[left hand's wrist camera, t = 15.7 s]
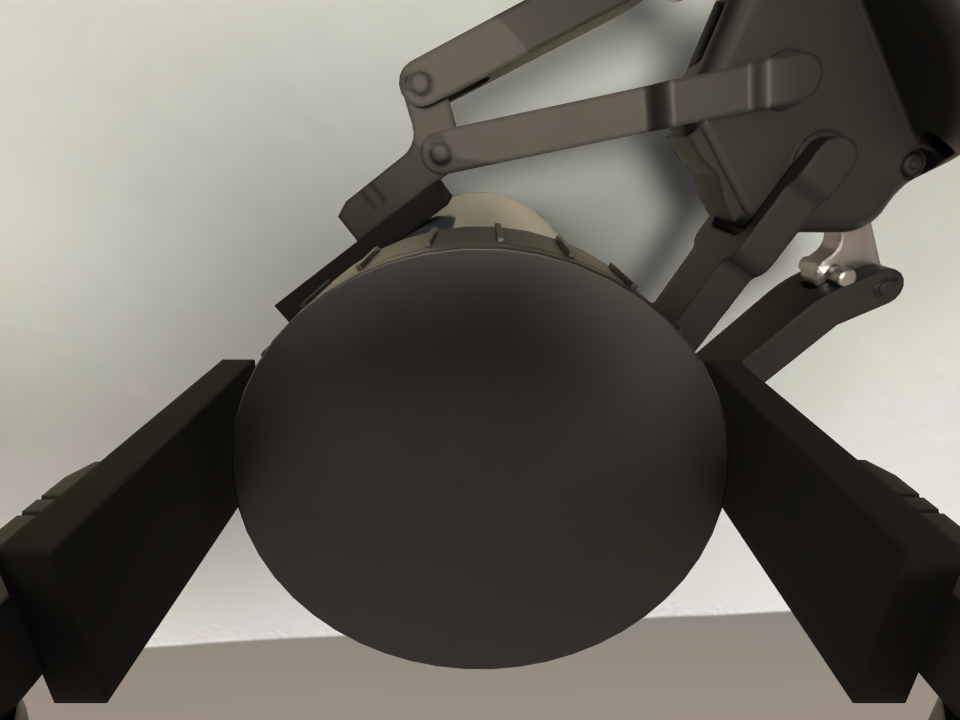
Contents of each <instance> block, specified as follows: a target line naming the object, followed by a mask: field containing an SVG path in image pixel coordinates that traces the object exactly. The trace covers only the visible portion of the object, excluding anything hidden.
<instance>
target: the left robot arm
mask: <svg viewBox="0 0 960 720" xmlns="http://www.w3.org/2000/svg"><path fill="white" fill-rule="evenodd" d="M255 367H256V366H255V360H222V361H221V362H219V363H218V364H217V365H216V366H215V367H213V368H212V369H211V370H210V371H209V372H207V373H206V374H205V375H204V376H203V377H201V378H200V379H199V380H198V381H197V382H195V383H194V384H193V385H192V386H191V387H189V388H188V389H187V390H186V391H185V392H183V393H182V394H181V395H180V396H179V397H177V398H176V399H175V400H174V401H173V402H171V403H170V404H169V405H168V406H167V407H165V408H164V409H163V410H162V411H161V412H159V413H158V414H157V415H156V416H155V417H153V418H152V419H151V420H150V421H149V422H147V423H146V424H145V425H144V426H143V427H141V428H140V429H139V430H138V431H137V432H135V433H134V434H133V435H132V436H131V437H129V438H128V439H127V440H126V441H125V442H123V443H122V444H121V445H120V446H119V447H117V448H116V449H115V450H114V451H113V452H111V453H110V454H109V455H108V456H107V457H106V458H104V459H103V460H102V461H101V462H94V463H92V464H90V465H88V466H86V467H84V468H82V469H80V470H78V471H77V472H75V473H73V474H71V475H69V476H67V477H65V478H64V479H62V480H61V481H60V482H59V483H57V484H56V485H55V486H54V487H52V488H51V489H50V490H49V491H47V492H46V493H45V494H44V495H42V498H41V500H36V501H35V502H34V503H32V504H31V505H30V506H29V507H27V508H26V509H25V510H24V511H22V515H21V516H16V517H15V518H14V519H12V520H11V521H10V522H9V523H7V524H6V525H5V526H4V527H2V528H1V529H0V720H29V719H28V713H27V708H26V706H25V704H24V702H23V699H22V698H23V697H24V696H25V694H26V693H27V692H28V691H29V690H30V688H31V687H32V686H33V685H34V684H35V682H36V681H37V680H38V679H39V678H40V676H41V675H42V674H43V677H44V679H45V681H46V684H47V686H48V689H49V691H50V693H51V696H52V698H53V700H54V703H107V702H108V701H109V699H110V698H111V696H112V695H113V693H114V692H115V690H116V689H117V687H118V686H119V684H120V683H121V681H122V680H123V678H124V677H125V675H126V674H127V672H128V671H129V669H130V668H131V666H132V665H133V663H134V662H135V660H136V659H137V657H138V656H139V654H140V653H141V651H142V650H143V648H144V647H145V645H146V644H147V642H148V641H149V639H150V638H151V636H152V635H153V633H154V632H155V630H156V629H157V627H158V626H159V624H160V623H161V622H162V620H163V619H164V617H165V616H166V614H167V613H168V611H169V610H170V608H171V607H172V605H173V604H174V602H175V601H176V599H177V598H178V596H179V595H180V593H181V592H182V590H183V589H184V587H185V586H186V584H187V583H188V581H189V580H190V578H191V577H192V575H193V574H194V572H195V571H196V569H197V568H198V566H199V565H200V563H201V562H202V560H203V559H204V557H205V556H206V554H207V553H208V551H209V550H210V548H211V547H212V545H213V544H214V542H215V541H216V539H217V538H218V536H219V535H220V533H221V532H222V530H223V529H224V527H225V526H226V524H227V523H228V521H229V520H230V518H231V517H232V515H233V514H234V512H235V511H236V509H237V508H238V504H237V499H236V494H235V489H234V484H233V476H232V442H233V434H234V426H235V420H236V416H237V413H238V409H239V406H240V402H241V399H242V395H243V393H244V390H245V388H246V386H247V384H248V382H249V380H250V378H251V375H252V373H253V371H254V369H255ZM705 368H706V370H707V372H708V374H709V377H710V379H711V381H712V383H713V385H714V388H715V390H716V392H717V394H718V397H719V401H720V404H721V408H722V412H723V416H724V419H725V423H726V430H727V440H728V450H729V461H728V479H727V486H726V491H725V496H724V500H723V505H722V508H723V509H724V511H725V512H726V514H727V515H728V517H729V518H730V520H731V521H732V523H733V524H734V526H735V527H736V529H737V530H738V532H739V533H740V535H741V536H742V538H743V539H744V541H745V542H746V544H747V545H748V547H749V548H750V550H751V551H752V553H753V554H754V556H755V557H756V559H757V560H758V562H759V563H760V565H761V566H762V568H763V569H764V571H765V572H766V574H767V575H768V577H769V578H770V580H771V581H772V583H773V584H774V586H775V587H776V589H777V590H778V592H779V593H780V595H781V596H782V598H783V599H784V601H785V602H786V604H787V605H788V607H789V608H790V610H791V611H792V613H793V614H794V616H795V617H796V619H797V620H798V621H799V623H800V624H801V626H802V627H803V629H804V630H805V632H806V633H807V635H808V636H809V638H810V639H811V641H812V642H813V644H814V645H815V647H816V648H817V650H818V651H819V653H820V654H821V656H822V657H823V659H824V660H825V662H826V663H827V665H828V666H829V668H830V669H831V671H832V672H833V674H834V675H835V677H836V678H837V680H838V681H839V683H840V684H841V686H842V687H843V689H844V690H845V692H846V693H847V695H848V696H849V698H850V699H851V701H852V702H853V703H906V700H907V698H908V696H909V693H910V691H911V689H912V686H913V684H914V681H915V679H916V677H917V674H918V672H919V673H920V674H921V676H922V677H923V678H924V679H925V680H926V682H927V683H928V684H929V685H930V686H931V688H932V689H933V690H934V691H935V692H936V694H937V695H938V696H939V697H938V700H937V702H936V704H935V706H934V708H933V710H932V713H931V715H930V717H929V719H928V720H960V526H959V525H957V524H956V523H955V522H954V521H952V520H951V519H950V518H949V517H947V516H946V515H945V514H940V513H939V509H937V508H936V507H935V506H934V505H932V504H931V503H930V502H929V501H927V500H926V499H925V498H920V497H919V494H918V493H917V492H916V491H915V490H913V489H912V488H911V487H910V486H908V485H907V484H906V483H905V482H903V481H902V480H901V479H900V478H898V477H897V476H896V475H894V474H892V473H890V472H888V471H886V470H884V469H882V468H880V467H878V466H876V465H874V464H872V463H870V462H868V461H866V460H857V459H856V458H854V457H853V456H852V455H851V454H850V453H849V452H847V451H846V450H845V449H844V448H843V447H841V446H840V445H839V444H838V443H837V442H835V441H834V440H833V439H832V438H831V437H829V436H828V435H827V434H826V433H825V432H823V431H822V430H821V429H820V428H819V427H817V426H816V425H815V424H814V423H813V422H811V421H810V420H809V419H808V418H807V417H805V416H804V415H803V414H802V413H801V412H799V411H798V410H797V409H796V408H795V407H793V406H792V405H791V404H790V403H789V402H787V401H786V400H785V399H784V398H783V397H781V396H780V395H779V394H778V393H777V392H775V391H774V390H773V389H772V388H771V387H769V386H768V385H767V384H766V383H765V382H763V381H762V380H761V379H760V378H759V377H757V376H756V375H755V374H754V373H753V372H751V371H750V370H749V369H748V368H747V367H745V366H744V365H743V364H742V363H741V362H739V361H738V360H705Z"/></svg>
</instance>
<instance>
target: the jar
mask: <svg viewBox="0 0 960 720" xmlns="http://www.w3.org/2000/svg"><path fill="white" fill-rule="evenodd" d="M495 223H500V224H501V227H503V228H510V229H517V230H524V231H530V232H533V233H537V234H540V235H544V236H547V237H551V238H554V239H555V238H556V236H558V234H557V233H556V232H555V231H554V230H553V229H552V228H551V226H550V225H549V224H548V223H547V222H546V221H545V220H544V219H543V218H542V217H541V216H540V215H539V214H538V213H536V212H535V211H534V210H533V209H531V208H530V207H528V206H526V205H525V204H523V203H521V202H519V201H517V200H515V199H512V198H510V197H507V196H503V195H499V194H493V193H467V194H461V195H457V196H454V197H452V198H451V200H450V202H449V204H448V205H447V206H446V207H444V208H443V209H442V210H440V211H439V212H438V213H436V214H435V215H434V216H432V217H431V218H430V219H428V220H427V221H426V222H424V223H423V224H422V225H420V226H419V227H418V228H416V229H415V230H414V231H412V232H411V233H410V234H408V235H407V236H406V237H404V238H403V239H406V238H409V237H413V236H416V235H420V234H424V233H428V232H430V230H431V228H432V227H437V228H438V230H442V229H450V228H458V227H466V226H472V227H495ZM403 239H402V240H403Z"/></svg>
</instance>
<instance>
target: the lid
mask: <svg viewBox="0 0 960 720" xmlns="http://www.w3.org/2000/svg"><path fill="white" fill-rule="evenodd" d="M637 287H638V286H637V285H636V284H635V283H634V282H633V281H631V280H630V279H629V278H628V277H627V276H626V275H625V274H624V273H623V272H621V271H620V270H619V269H618V268H617V267H616V266H615V265H613V264H612V263H610V265H609V266H608V265H606V264H604V263H603V262H601V261H599V260H598V259H596V258H595V257H593V256H591V255H590V254H588V253H586V252H585V251H583V250H580V249H578V248H576V247H574V246H571V245H569V244H567V243H566V242H565V240H564V239H563V238H562V237H560V236H556V238H555V239H554V238H551V237H547V236H544V235H540V234H537V233H533V232H530V231H524V230H517V229H510V228H503V227H501V224H500V223H495V227H472V226H466V227H458V228H450V229H442V230H438V228H437V227H432V228H431V230H430V232H428V233H424V234H420V235H416V236H413V237H409V238H406V239H403V240H401V241H399V242H396V243H394V244H391V245H389V246H387V247H384V248H382V249H380V248H379V246H377V247H375V248H373V249H372V250H371V251H370V252H369V253H368V254H367V255H366V256H365V257H364V258H363V259H362V260H361V261H359V262H357V263H356V264H354V265H353V266H351V267H350V268H349V269H348V270H346V271H345V272H344V273H343V274H341V275H340V276H339V277H338V278H336V279H335V280H334V281H333V282H332V281H331V280H330V279H329V280H327V281H326V282H325V283H324V284H323V285H322V286H321V287H320V288H318V289H317V290H316V291H315V292H314V293H313V294H312V295H311V296H309V297H308V298H307V299H306V300H305V301H304V302H303V303H302V304H301V305H300V307H301V308H302V310H301V311H300V312H299V313H298V314H297V315H296V316H295V317H294V318H293V319H292V320H291V321H290V322H289V324H288V325H287V326H286V327H285V328H284V329H283V330H282V331H281V332H280V333H279V334H278V335H277V336H276V338H275V339H274V340H273V341H272V343H271V344H270V345H269V346H268V347H267V348H266V349H265V350H264V351H263V353H262V354H261V356H262V358H261V359H260V361H259V362H258V364H257V365H256V367H255V369H254V371H253V373H252V375H251V378H250V380H249V382H248V384H247V386H246V388H245V390H244V393H243V395H242V399H241V402H240V406H239V409H238V413H237V416H236V420H235V426H234V434H233V442H232V476H233V484H234V489H235V494H236V499H237V504H238V508H239V511H240V513H241V516H242V519H243V522H244V525H245V528H246V530H247V533H248V535H249V537H250V538H251V540H252V542H253V544H254V546H255V548H256V550H257V552H258V554H259V556H260V557H261V558H262V560H263V561H264V563H265V564H266V566H267V567H268V568H269V570H270V571H271V573H272V574H273V576H274V577H275V578H276V579H277V580H278V581H279V582H280V584H281V585H282V586H283V587H284V588H285V589H286V590H287V591H288V592H289V593H290V595H291V596H292V597H293V598H294V599H296V600H297V601H298V602H299V603H300V604H301V605H303V606H304V607H305V608H306V609H307V610H308V611H309V612H311V613H312V614H313V615H314V616H316V617H317V618H319V619H320V620H322V621H323V622H325V623H326V624H328V625H329V626H330V627H332V628H333V629H335V630H337V631H338V632H340V633H342V634H344V635H346V636H348V637H350V638H351V639H353V640H355V641H357V642H359V643H361V644H364V645H366V646H369V647H371V648H373V649H376V650H378V651H381V652H383V653H386V654H389V655H393V656H396V657H399V658H403V659H406V660H409V661H414V662H419V663H424V664H429V665H434V666H441V667H451V668H461V669H498V668H510V667H520V666H526V665H531V664H536V663H542V662H547V661H550V660H554V659H557V658H561V657H564V656H568V655H571V654H574V653H577V652H579V651H582V650H584V649H587V648H589V647H592V646H594V645H597V644H599V643H601V642H603V641H605V640H607V639H609V638H611V637H612V636H614V635H616V634H618V633H620V632H622V631H624V630H625V629H627V628H628V627H630V626H631V625H633V624H634V623H636V622H637V621H639V620H640V619H642V618H643V617H645V616H646V615H647V614H648V613H649V612H651V611H652V610H653V609H654V608H655V607H657V606H658V605H659V604H660V603H661V602H663V601H664V600H665V599H666V598H667V597H668V596H669V595H670V594H671V593H672V592H673V590H674V589H675V588H676V587H677V586H678V585H679V584H680V583H681V582H682V581H683V580H684V578H685V577H686V576H687V574H688V573H689V572H690V570H691V569H692V567H693V566H694V565H695V563H696V562H697V561H698V559H699V558H700V556H701V554H702V552H703V550H704V549H705V547H706V545H707V543H708V541H709V539H710V537H711V536H712V534H713V531H714V528H715V525H716V523H717V520H718V517H719V515H720V512H721V509H722V505H723V500H724V496H725V491H726V486H727V479H728V461H729V450H728V440H727V430H726V423H725V419H724V416H723V412H722V408H721V404H720V401H719V397H718V394H717V392H716V390H715V388H714V385H713V383H712V381H711V379H710V377H709V374H708V372H707V370H706V368H705V366H704V365H703V363H702V362H701V360H700V359H699V357H698V356H697V354H696V353H695V351H694V349H693V348H692V346H691V345H690V343H689V342H688V341H687V340H686V339H685V337H684V336H683V335H682V334H683V333H684V331H683V330H682V328H681V327H679V326H678V325H677V324H676V323H675V322H674V321H673V320H672V319H671V318H670V317H668V316H667V315H666V314H665V313H664V312H663V311H662V310H661V309H660V308H659V307H657V306H656V305H655V304H654V303H653V302H652V303H650V302H649V301H648V300H647V299H646V298H645V297H644V296H643V295H642V294H641V293H640V292H639V291H637V290H636V288H637Z"/></svg>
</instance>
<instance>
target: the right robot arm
mask: <svg viewBox="0 0 960 720" xmlns="http://www.w3.org/2000/svg"><path fill="white" fill-rule="evenodd" d="M641 1H642V0H524V1H522V2H520V3H519V4H517V5H515V6H513V7H511V8H509V9H507V10H506V11H504V12H502V13H500V14H498V15H496V16H494V17H493V18H491V19H489V20H487V21H485V22H483V23H481V24H480V25H478V26H476V27H474V28H472V29H470V30H468V31H466V32H465V33H463V34H461V35H459V36H457V37H455V38H453V39H452V40H450V41H448V42H446V43H444V44H442V45H440V46H439V47H437V48H435V49H433V50H431V51H429V52H427V53H426V54H424V55H422V56H420V57H418V58H416V59H414V60H412V61H411V62H409V63H408V64H407V65H406V66H405V67H404V68H403V70H402V72H401V74H400V81H399V86H400V89H401V93H402V95H403V96H404V98H405V101H406V105H407V108H408V111H409V115H410V118H411V121H412V125H413V130H414V138H413V142H412V145H411V147H410V149H409V151H408V152H407V153H406V154H405V155H404V156H403V157H402V158H400V159H399V160H398V161H397V162H395V163H394V164H393V165H391V166H390V167H389V168H388V169H386V170H385V171H384V172H383V173H381V174H380V175H379V176H378V177H376V178H375V179H374V180H373V181H371V182H370V183H369V184H368V185H366V186H365V187H364V188H363V189H361V190H360V191H359V192H358V193H356V194H355V195H354V196H353V197H351V198H350V199H349V200H348V201H346V203H345V205H344V207H343V208H342V210H341V212H340V214H339V216H338V217H339V218H340V219H341V221H342V222H343V223H344V224H345V226H346V227H347V228H348V230H349V231H350V232H351V233H352V235H353V236H354V237H355V238H356V240H357V242H356V243H355V244H354V245H352V246H351V247H350V248H348V249H347V250H346V251H344V252H343V253H342V254H341V255H339V256H338V257H337V258H335V259H334V260H333V261H331V262H330V263H329V264H328V265H326V266H325V267H324V268H322V269H321V270H320V271H319V272H317V273H316V274H315V275H313V276H312V277H311V278H309V279H308V280H307V281H306V282H304V283H303V284H302V285H300V286H299V287H298V288H297V289H295V290H294V291H293V292H291V293H290V294H289V295H288V296H286V297H285V298H284V299H282V300H281V301H280V302H279V303H277V304H276V305H275V307H276V308H277V309H278V310H279V311H280V312H281V314H282V315H283V316H284V317H285V318H286V319H287V320H288V321H289V322H290V321H291V320H292V319H293V318H294V317H295V316H296V315H297V314H298V313H299V312H300V311H301V310H302V308H301V307H300V305H301V304H302V303H303V302H304V301H305V300H306V299H307V298H308V297H309V296H311V295H312V294H313V293H314V292H315V291H316V290H317V289H318V288H320V287H321V286H322V285H323V284H324V283H325V282H326V281H327V280H329V279H330V280H331V281H332V282H333V281H334V280H335V279H336V278H338V277H339V276H340V275H341V274H343V273H344V272H345V271H346V270H348V269H349V268H350V267H351V266H353V265H354V264H356V263H357V262H359V261H361V260H362V259H363V258H364V257H365V256H366V255H367V254H368V253H369V252H370V251H371V250H372V249H373V248H375V247H377V246H379V248H380V249H382V248H384V247H387V246H389V245H391V244H394V243H396V242H399V241H401V240H402V239H403V238H404V237H406V236H407V235H408V234H410V233H411V232H412V231H414V230H415V229H416V228H418V227H419V226H420V225H422V224H423V223H424V222H426V221H427V220H428V219H430V218H431V217H432V216H434V215H435V214H436V213H438V212H439V211H440V210H442V209H443V208H444V207H446V206H447V205H448V204H449V202H450V200H451V198H452V197H453V196H452V195H451V194H450V192H449V191H448V189H447V188H446V187H445V185H444V184H443V182H442V181H441V179H442V178H443V177H444V176H446V175H447V174H448V173H453V172H458V171H462V170H467V169H472V168H477V167H482V166H486V165H491V164H496V163H501V162H505V161H510V160H515V159H520V158H525V157H529V156H534V155H539V154H544V153H549V152H553V151H558V150H563V149H568V148H573V147H577V146H582V145H587V144H592V143H597V142H601V141H606V140H611V139H616V138H620V137H625V136H630V135H635V134H640V133H644V132H649V131H655V130H661V129H666V128H670V130H671V134H669V135H668V136H666V137H667V138H668V140H669V142H670V144H671V146H672V148H673V149H674V151H675V153H676V155H677V157H678V158H679V159H680V160H681V161H682V162H683V163H684V164H686V165H687V166H688V167H689V168H690V169H691V170H692V171H693V173H694V176H695V180H696V185H697V190H698V194H699V197H700V199H701V201H702V203H703V205H704V206H705V208H706V210H707V212H708V214H709V215H710V216H709V217H708V219H707V220H706V221H705V223H704V224H703V226H702V227H701V229H700V230H699V231H698V233H697V235H696V237H695V240H694V247H693V249H692V251H691V252H690V253H689V255H688V256H687V258H686V259H685V260H684V262H683V263H682V265H681V266H680V267H679V269H678V270H677V272H676V273H675V274H674V276H673V277H672V279H671V280H670V281H669V283H668V284H667V286H666V287H665V288H664V290H663V291H662V293H661V294H660V295H659V297H658V298H657V300H656V301H655V302H654V304H655V305H656V306H657V307H659V308H660V309H661V310H662V311H663V312H664V313H665V314H666V315H667V316H668V317H670V318H671V319H672V320H673V321H674V322H675V323H676V324H677V325H678V326H679V327H681V328H682V330H683V331H684V333H683V334H682V335H683V336H684V337H685V339H686V340H687V341H688V342H689V343H690V345H691V346H692V348H693V349H694V351H696V350H697V349H698V347H699V346H700V345H701V343H702V342H703V341H704V339H705V338H706V337H707V336H708V334H709V333H710V332H711V330H712V329H713V328H714V326H715V325H716V324H717V323H718V321H719V320H720V319H721V317H722V316H723V315H724V314H725V312H726V311H727V310H728V308H729V307H730V306H731V304H732V303H733V302H734V301H735V299H736V298H737V297H738V295H739V294H740V293H741V291H742V290H743V289H744V288H745V286H746V285H747V284H748V283H749V281H750V280H752V279H753V278H755V277H758V276H760V275H762V274H764V273H765V272H766V271H767V270H768V269H769V268H770V267H771V266H772V265H773V263H774V262H775V261H776V260H777V258H778V257H779V256H780V254H781V253H782V252H783V251H784V249H785V248H786V247H787V246H788V244H789V243H790V242H791V240H792V239H793V238H794V237H795V235H796V234H797V233H798V232H824V238H823V241H822V243H821V245H820V247H819V248H818V249H817V250H816V251H815V252H814V253H812V254H811V255H810V256H805V257H803V258H802V259H801V260H800V262H799V269H800V270H801V272H799V273H797V274H795V275H793V276H791V277H789V278H788V279H786V280H784V281H783V282H781V283H780V284H778V285H777V286H776V287H774V288H773V289H772V290H770V291H769V292H768V293H767V294H765V295H764V296H763V297H762V298H761V299H760V300H758V301H757V302H756V303H755V304H754V305H753V306H751V307H750V308H749V309H748V310H747V311H745V312H744V313H743V314H742V315H741V316H740V317H738V318H737V319H736V320H735V321H734V322H733V323H731V324H730V325H729V326H728V327H727V328H725V329H724V330H723V331H722V332H721V333H720V334H718V335H717V336H716V337H715V338H714V339H712V340H711V341H710V342H709V343H708V344H707V345H705V346H704V347H703V348H702V349H701V350H700V351H698V352H697V353H696V354H697V356H698V357H699V359H700V360H701V362H702V363H703V365H704V366H705V360H738V361H739V362H741V363H742V364H743V365H744V366H745V367H747V368H748V369H749V370H750V371H751V372H753V373H754V374H755V375H756V376H757V377H759V378H760V379H761V380H762V381H763V382H766V381H767V380H768V379H770V378H771V377H772V376H773V375H775V374H776V373H777V372H778V371H780V370H781V369H782V368H783V367H785V366H786V365H787V364H788V363H790V362H791V361H792V360H793V359H795V358H796V357H797V356H798V355H800V354H801V353H802V352H803V351H805V350H806V349H807V348H808V347H810V346H811V345H812V344H813V343H815V342H816V341H817V340H818V339H820V338H821V337H822V336H823V335H825V334H826V333H827V332H829V331H830V330H831V329H832V328H834V327H835V326H836V325H838V324H840V323H842V322H845V321H847V320H849V319H852V318H854V317H856V316H859V315H861V314H864V313H866V312H868V311H871V310H873V309H875V308H878V307H880V306H882V305H885V304H887V303H889V302H891V301H892V300H894V299H895V298H896V297H897V296H898V295H899V294H900V293H901V290H902V288H903V284H904V279H903V277H902V275H901V273H900V272H898V271H897V270H895V269H892V268H888V267H885V266H882V265H881V264H880V261H879V257H878V253H877V248H876V244H875V239H874V235H873V230H872V226H871V222H872V221H873V220H874V219H875V218H877V217H878V216H879V214H880V213H881V212H882V211H883V210H884V208H885V207H886V205H887V204H888V202H889V201H890V200H891V199H892V197H893V196H894V195H895V194H896V193H897V192H898V191H899V190H900V189H901V188H902V187H903V186H904V185H905V184H906V183H908V182H909V181H911V180H912V179H914V178H916V177H918V176H920V175H922V174H924V173H926V172H928V171H930V170H932V169H935V168H937V167H939V166H941V165H943V164H945V163H947V162H948V161H950V160H952V159H954V158H956V157H958V156H959V155H960V0H716V2H715V4H714V7H713V9H712V11H711V14H710V16H709V18H708V21H707V23H706V26H705V28H704V30H703V33H702V35H701V37H700V40H699V42H698V45H697V47H696V49H695V52H694V54H693V56H692V59H691V61H690V64H689V66H688V68H687V71H686V73H685V75H684V78H679V79H675V80H670V81H666V82H661V83H657V84H654V85H650V86H645V87H641V88H636V89H631V90H627V91H622V92H617V93H613V94H608V95H603V96H599V97H594V98H590V99H585V100H580V101H576V102H571V103H566V104H562V105H557V106H552V107H548V108H543V109H538V110H534V111H529V112H524V113H520V114H515V115H510V116H506V117H501V118H496V119H492V120H487V121H482V122H478V123H473V124H468V125H464V126H459V127H456V124H455V120H454V116H453V113H452V109H451V105H450V102H452V101H454V100H456V99H458V98H460V97H462V96H464V95H466V94H468V93H470V92H472V91H474V90H475V89H477V88H479V87H481V86H483V85H485V84H487V83H489V82H491V81H493V80H495V79H497V78H499V77H501V76H503V75H505V74H506V73H508V72H510V71H512V70H514V69H516V68H518V67H520V66H522V65H524V64H526V63H528V62H530V61H532V60H534V59H535V58H537V57H539V56H541V55H543V54H545V53H547V52H549V51H551V50H553V49H555V48H557V47H559V46H561V45H563V44H564V43H566V42H568V41H570V40H572V39H574V38H576V37H578V36H580V35H582V34H584V33H586V32H588V31H590V30H592V29H593V28H595V27H597V26H599V25H601V24H603V23H605V22H607V21H609V20H611V19H613V18H615V17H617V16H619V15H621V14H622V13H624V12H626V11H627V10H629V9H631V8H632V7H634V6H635V5H637V4H638V3H639V2H641ZM668 1H670V2H678V1H682V0H668Z"/></svg>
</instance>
